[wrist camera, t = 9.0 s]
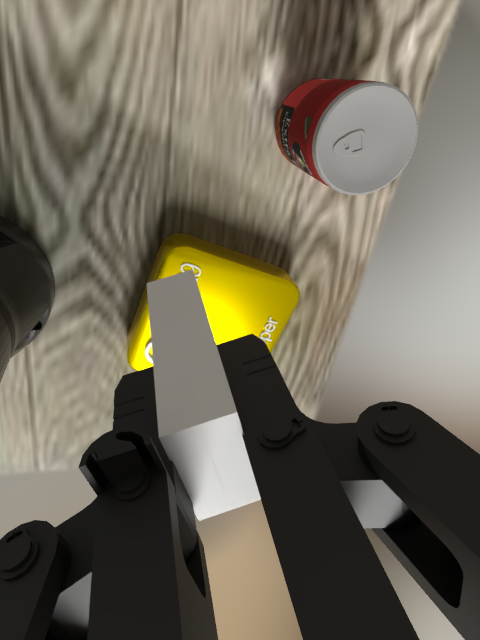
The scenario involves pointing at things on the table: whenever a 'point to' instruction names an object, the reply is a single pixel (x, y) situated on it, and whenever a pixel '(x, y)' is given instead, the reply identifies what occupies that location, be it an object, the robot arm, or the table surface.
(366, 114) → the canned food
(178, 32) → the table surface
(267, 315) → the element tile
